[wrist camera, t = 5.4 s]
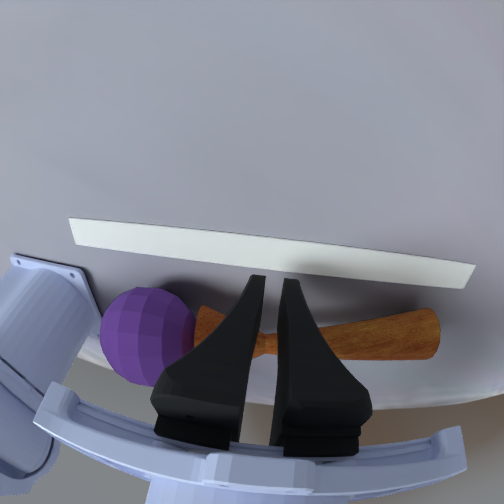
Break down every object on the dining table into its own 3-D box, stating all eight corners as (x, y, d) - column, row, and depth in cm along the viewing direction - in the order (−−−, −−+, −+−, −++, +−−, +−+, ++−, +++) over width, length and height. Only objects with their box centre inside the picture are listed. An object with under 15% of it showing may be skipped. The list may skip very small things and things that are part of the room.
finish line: (76, 243, 16) (76, 244, 16) (69, 217, 15) (68, 218, 15) (462, 288, 15) (463, 289, 15) (475, 264, 14) (476, 265, 13)
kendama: (405, 377, 16) (125, 375, 17) (402, 297, 18) (131, 295, 19) (453, 381, 11) (78, 379, 12) (447, 275, 13) (88, 273, 14)
